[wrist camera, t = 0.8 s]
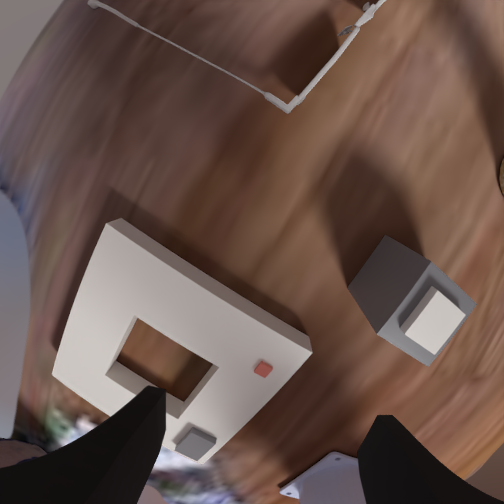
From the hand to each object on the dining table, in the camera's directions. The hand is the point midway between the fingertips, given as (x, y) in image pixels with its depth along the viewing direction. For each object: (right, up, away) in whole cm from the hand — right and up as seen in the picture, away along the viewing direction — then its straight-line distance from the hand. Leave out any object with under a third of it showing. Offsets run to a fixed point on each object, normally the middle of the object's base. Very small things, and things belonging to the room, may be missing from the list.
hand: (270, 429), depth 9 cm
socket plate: (-7, -1, +11) cm, 13 cm away
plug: (+8, +4, +9) cm, 13 cm away
